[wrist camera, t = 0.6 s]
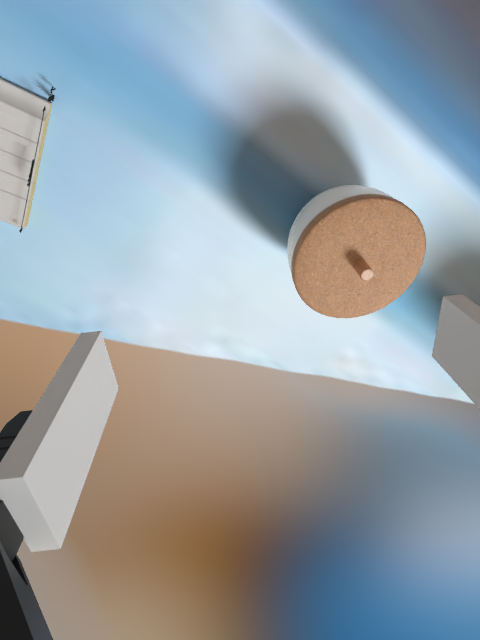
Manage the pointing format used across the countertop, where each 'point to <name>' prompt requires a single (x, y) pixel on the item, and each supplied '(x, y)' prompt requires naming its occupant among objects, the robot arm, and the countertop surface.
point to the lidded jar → (354, 251)
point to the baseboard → (20, 149)
